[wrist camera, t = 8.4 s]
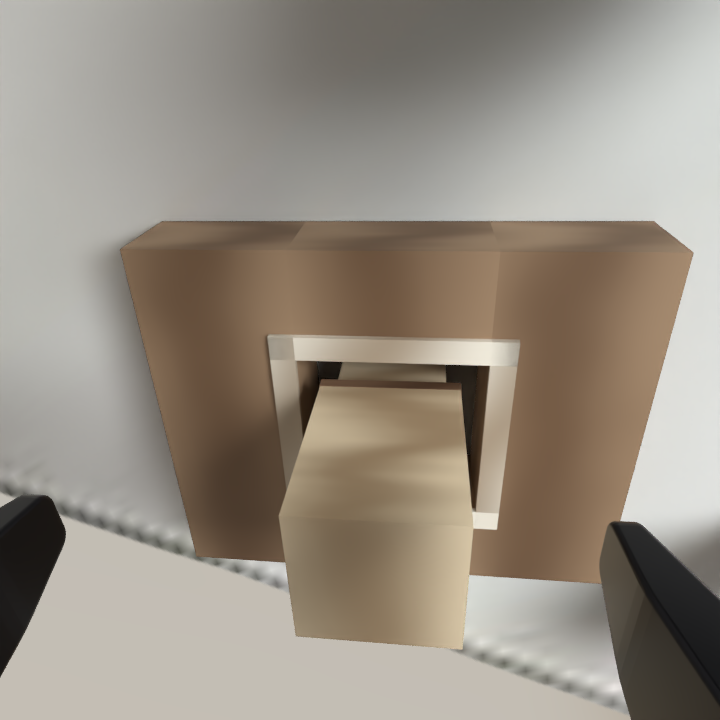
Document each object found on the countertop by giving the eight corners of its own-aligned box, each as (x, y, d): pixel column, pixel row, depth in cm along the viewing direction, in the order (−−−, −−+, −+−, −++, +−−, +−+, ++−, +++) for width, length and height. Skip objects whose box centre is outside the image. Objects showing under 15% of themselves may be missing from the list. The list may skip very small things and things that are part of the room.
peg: (456, 339, 20) (474, 525, 12) (451, 437, 22) (462, 649, 14) (335, 336, 21) (277, 515, 13) (341, 433, 23) (295, 636, 15)
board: (653, 221, 17) (696, 255, 15) (583, 524, 24) (604, 588, 21) (161, 221, 19) (116, 251, 16) (220, 504, 25) (194, 560, 23)
